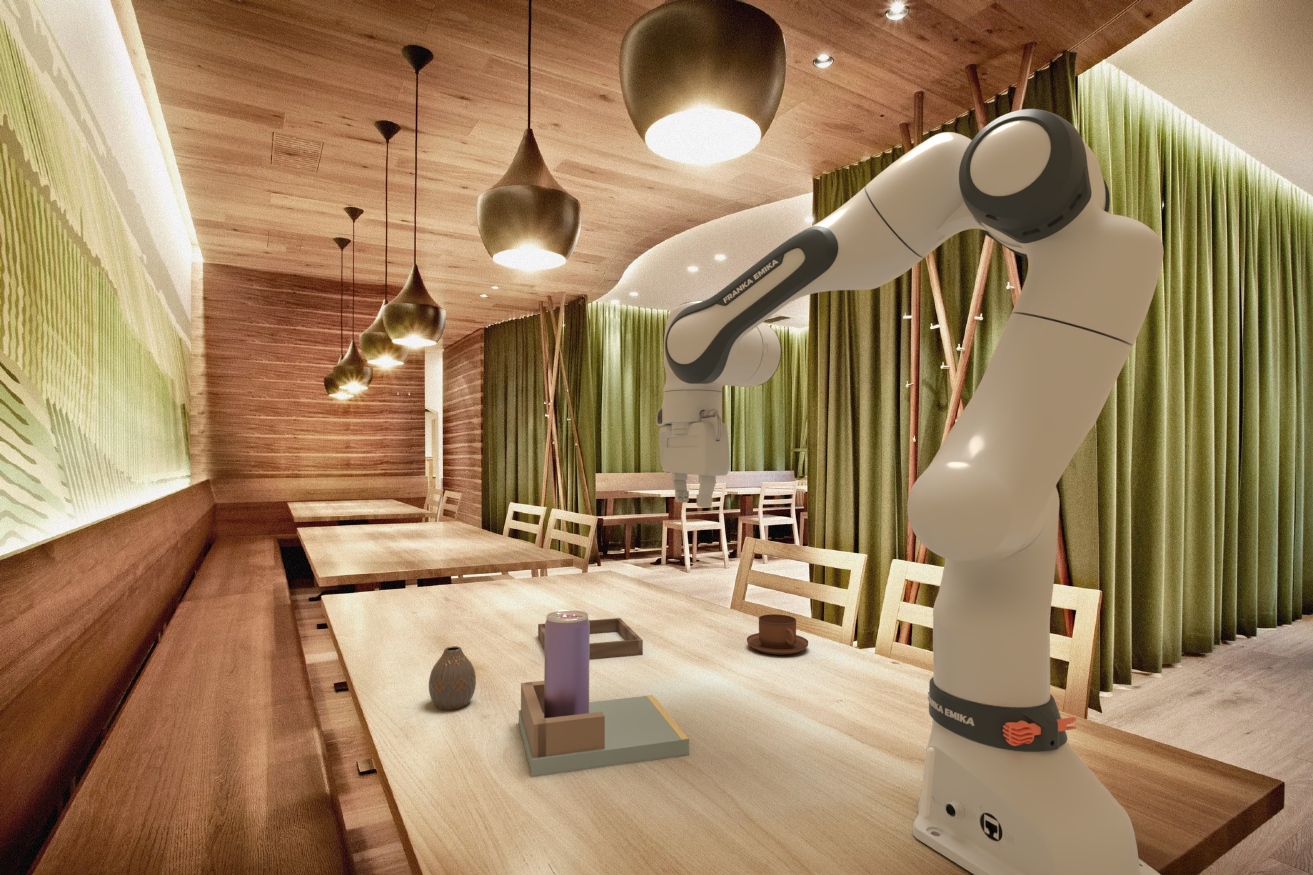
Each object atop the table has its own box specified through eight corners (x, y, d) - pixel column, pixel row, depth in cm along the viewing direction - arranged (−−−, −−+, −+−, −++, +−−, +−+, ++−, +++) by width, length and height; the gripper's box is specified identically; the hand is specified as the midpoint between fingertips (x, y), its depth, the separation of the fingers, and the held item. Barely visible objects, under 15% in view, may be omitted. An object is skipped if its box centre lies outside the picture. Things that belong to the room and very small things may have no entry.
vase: (424, 716, 97) (425, 656, 97) (432, 698, 104) (433, 642, 104) (472, 713, 98) (473, 654, 98) (478, 696, 105) (478, 640, 105)
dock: (688, 754, 85) (689, 707, 85) (531, 776, 79) (532, 726, 79) (652, 708, 100) (652, 668, 100) (518, 724, 94) (518, 681, 94)
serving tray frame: (642, 655, 126) (642, 640, 126) (550, 664, 120) (550, 647, 120) (619, 631, 142) (620, 617, 143) (538, 638, 137) (538, 623, 137)
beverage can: (581, 738, 85) (582, 621, 85) (537, 735, 86) (538, 619, 86) (593, 720, 90) (594, 610, 91) (552, 717, 91) (553, 608, 92)
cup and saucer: (821, 651, 129) (821, 620, 129) (780, 663, 122) (780, 630, 122) (774, 638, 139) (774, 608, 139) (734, 648, 131) (734, 617, 131)
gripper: (741, 408, 90) (741, 510, 89) (689, 416, 109) (689, 499, 109) (697, 407, 88) (697, 511, 87) (652, 415, 107) (652, 500, 107)
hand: (692, 504), depth 98 cm, fingers open, 8 cm apart
